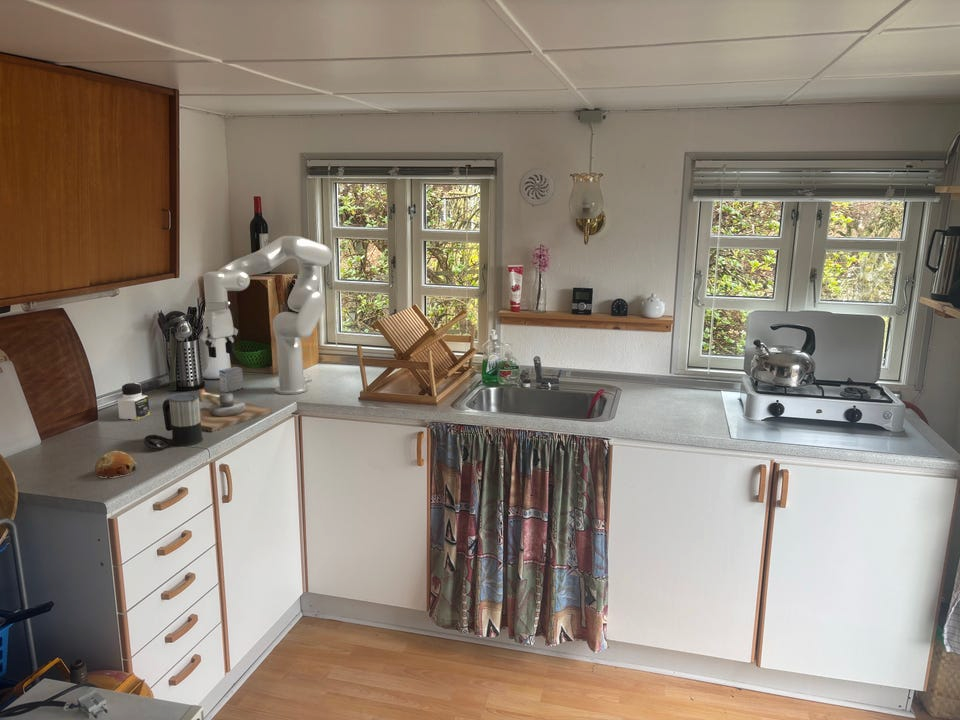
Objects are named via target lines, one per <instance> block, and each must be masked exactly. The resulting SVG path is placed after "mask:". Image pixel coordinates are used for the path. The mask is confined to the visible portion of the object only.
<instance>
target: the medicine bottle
mask: <svg viewBox="0 0 960 720" xmlns="http://www.w3.org/2000/svg"><path fill="white" fill-rule="evenodd" d="M121 392H122V397H121V398H118V399H117V401H116V402H117V409H118V417H119V419H120V420H128V419H131V421H139V420H140V418H141V419H143V418H145V417H148V416H150V414H151V413H150V404H149V396H148V395H144V394H143V393H142V385H141V383H138V382H129V383H125V384H123V385H122V386H121Z"/></svg>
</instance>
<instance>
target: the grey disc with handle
mask: <svg viewBox="0 0 960 720" xmlns="http://www.w3.org/2000/svg"><path fill="white" fill-rule="evenodd" d="M197 394H199V395H200V396H199V403H200V402H201V403H206V404H211V405H208V406H209V413H210V414H211V415H214V416H230V415H236V414H240V413H242V412H244V411H245V402H243V401H237V400H235V401H234V394H233V393H231V392H228V393H226V392H224V393H221V394H215V393H212V392H211V393H210V392H206V389H204V388H203V389H202V388H201V389H198V391H197Z"/></svg>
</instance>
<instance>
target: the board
mask: <svg viewBox="0 0 960 720" xmlns="http://www.w3.org/2000/svg"><path fill="white" fill-rule="evenodd" d="M244 403H245V402H244ZM209 406H210V405H208V406H205V407H201V408H200V421H201V429H204V430H203V431H206V430H208V431H207V432H210V431H213V432H216V431H219V430H222V429H221V428H223V429H225V428H224V427H226V428H228V427H227V426H229V427H231V426H230V425H232V426H234V425H233V424H235V425H237V424H236V423H238V424H240V423H239V422H241V423H243V422H242V421H244V422H246V421H245V420H247V421H249V420H248V419H250V420H252V418H253V419H256V418H259V417H262V416H265V415H269V414H271V413H272V408H271V407H267V406H262V405H261V406H260V405H256V404H250V403H245V411H244V412H242V413H240V414H236V415H230V416H214V415H211V414H210V413H209ZM258 416H259V417H258ZM255 417H256V418H255ZM218 429H219V430H218ZM215 430H216V431H215Z"/></svg>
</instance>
